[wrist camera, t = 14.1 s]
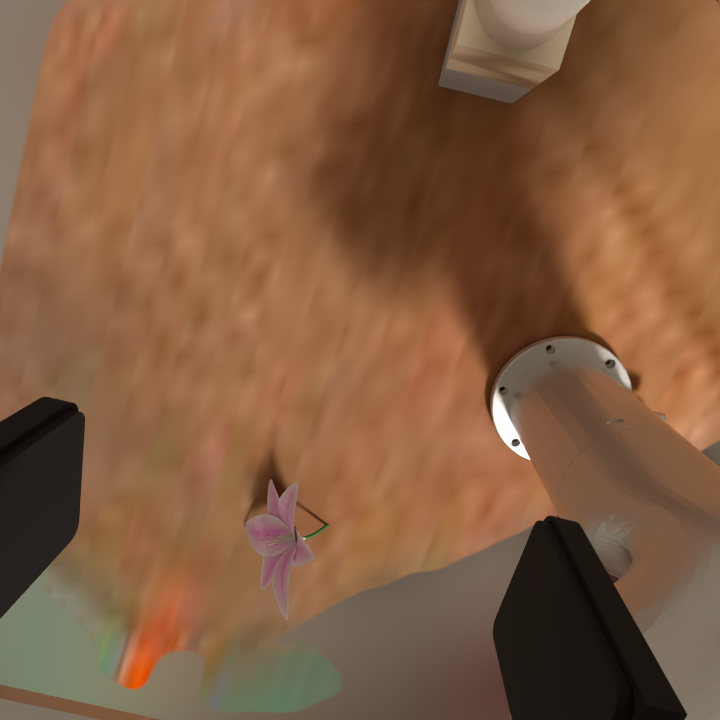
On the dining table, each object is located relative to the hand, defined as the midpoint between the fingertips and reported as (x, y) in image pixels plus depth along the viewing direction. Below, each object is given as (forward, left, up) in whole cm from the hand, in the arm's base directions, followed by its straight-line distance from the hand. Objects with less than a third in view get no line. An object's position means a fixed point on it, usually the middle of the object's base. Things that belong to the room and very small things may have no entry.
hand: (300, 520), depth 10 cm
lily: (+2, +27, -37) cm, 46 cm away
